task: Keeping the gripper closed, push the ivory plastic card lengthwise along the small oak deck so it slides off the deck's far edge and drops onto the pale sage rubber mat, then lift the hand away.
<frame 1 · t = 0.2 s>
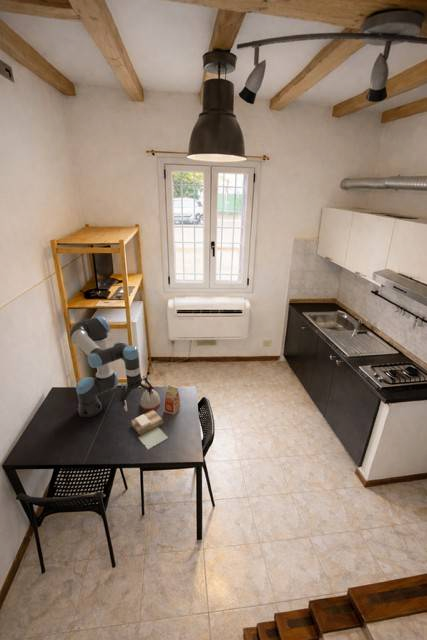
hand: (137, 404, 177), 27 cm above the table, fingers open, 13 cm apart
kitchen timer: (150, 404, 220), on the table
card: (143, 422, 197), point 4 cm above the table, touching deck
deck: (147, 424, 201), on the table
mat: (153, 438, 191), on the table
milk carton: (173, 409, 215), on the table
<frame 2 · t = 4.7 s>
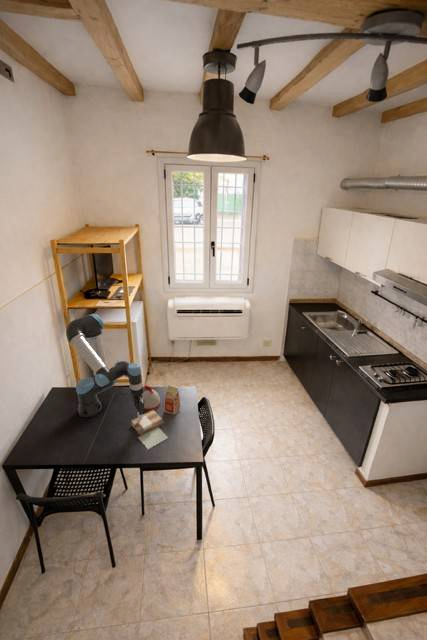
hand: (140, 417, 199), 5 cm above the table, fingers closed
card: (144, 424, 196), point 4 cm above the table, touching deck
everything else where it was.
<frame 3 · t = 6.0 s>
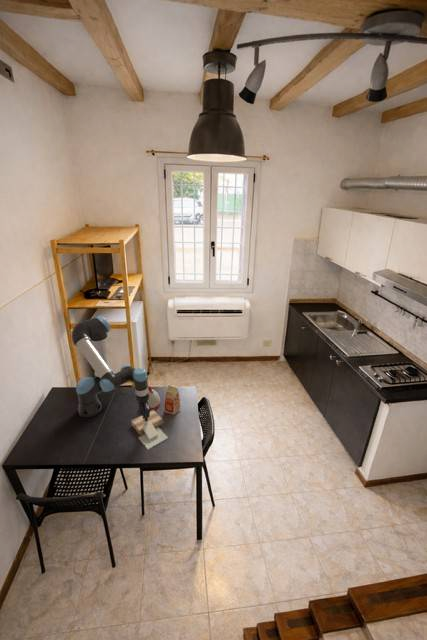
hand: (145, 424, 194), 5 cm above the table, fingers closed
card: (149, 431, 192), point 2 cm above the table, tilted 28°, touching deck, gripper
everything else where it was.
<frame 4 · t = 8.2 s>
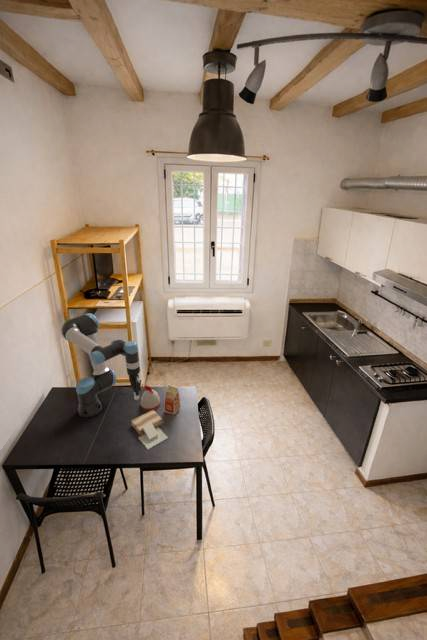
hand: (137, 398, 194), 20 cm above the table, fingers closed
card: (149, 431, 192), point 2 cm above the table, tilted 27°, touching deck, mat
everything else where it was.
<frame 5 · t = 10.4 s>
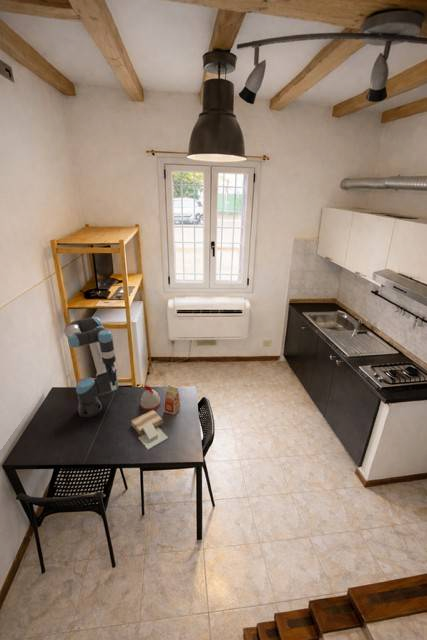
hand: (113, 388, 193), 26 cm above the table, fingers closed
nothing on the table moved.
at the end: card point 2.5 cm above the table; card inside the target area on the mat (3.5 cm from its centre), point 2.5 cm above the mat's base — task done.
